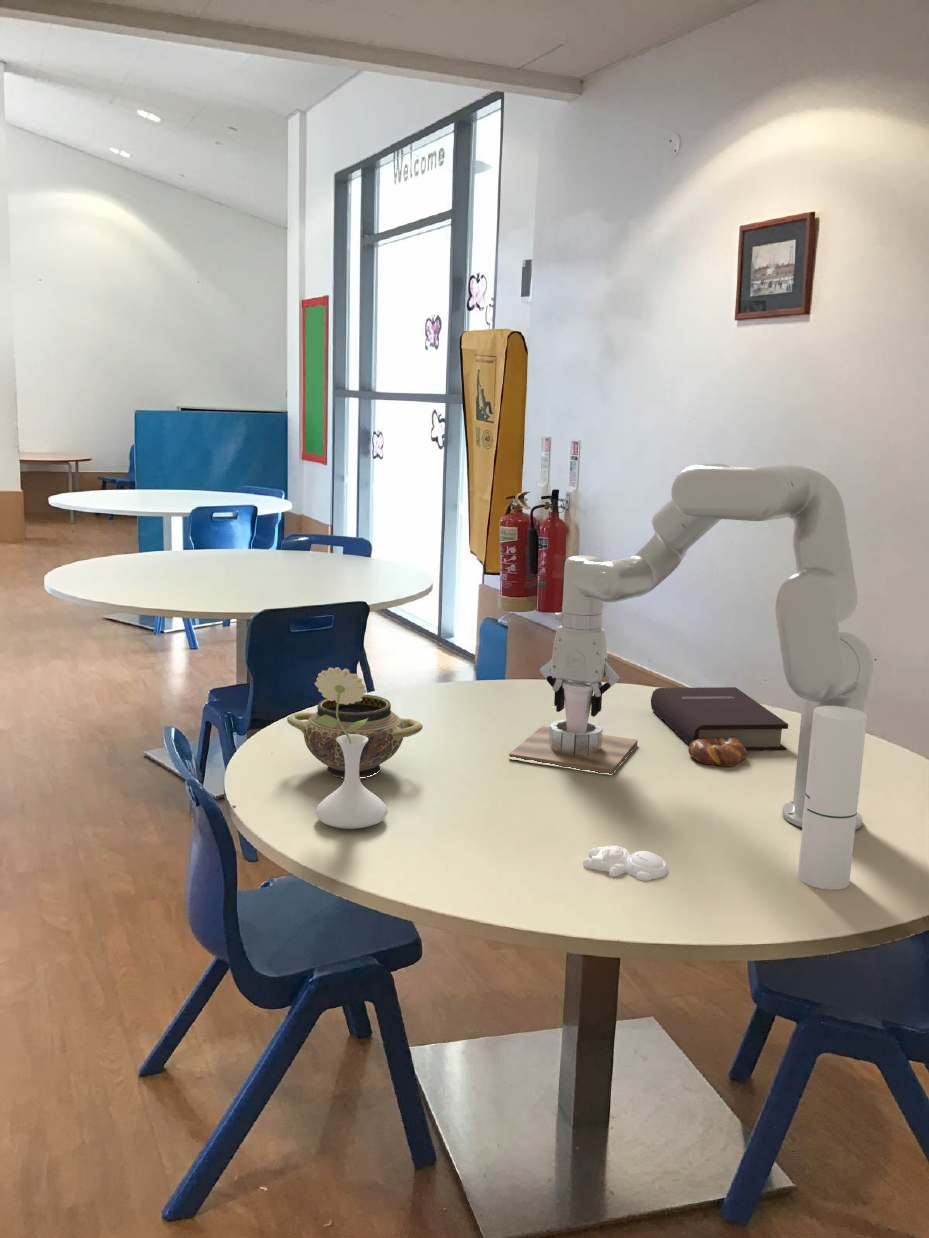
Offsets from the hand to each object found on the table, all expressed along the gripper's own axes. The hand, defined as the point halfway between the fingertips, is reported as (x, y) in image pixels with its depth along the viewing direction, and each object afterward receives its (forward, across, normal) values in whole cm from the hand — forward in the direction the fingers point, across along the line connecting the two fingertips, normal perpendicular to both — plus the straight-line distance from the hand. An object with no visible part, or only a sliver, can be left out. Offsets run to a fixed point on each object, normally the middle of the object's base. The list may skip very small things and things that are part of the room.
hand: (577, 711), depth 208 cm
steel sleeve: (+7, 0, 0) cm, 7 cm away
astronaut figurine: (+9, +22, -47) cm, 53 cm away
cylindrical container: (+9, +49, -39) cm, 63 cm away
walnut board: (+8, 0, 0) cm, 8 cm away
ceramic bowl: (+8, -33, -29) cm, 45 cm away
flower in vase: (+9, -23, -50) cm, 56 cm away
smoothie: (+4, 0, 0) cm, 4 cm away
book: (+9, +22, +28) cm, 37 cm away
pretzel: (+9, +26, +10) cm, 29 cm away
